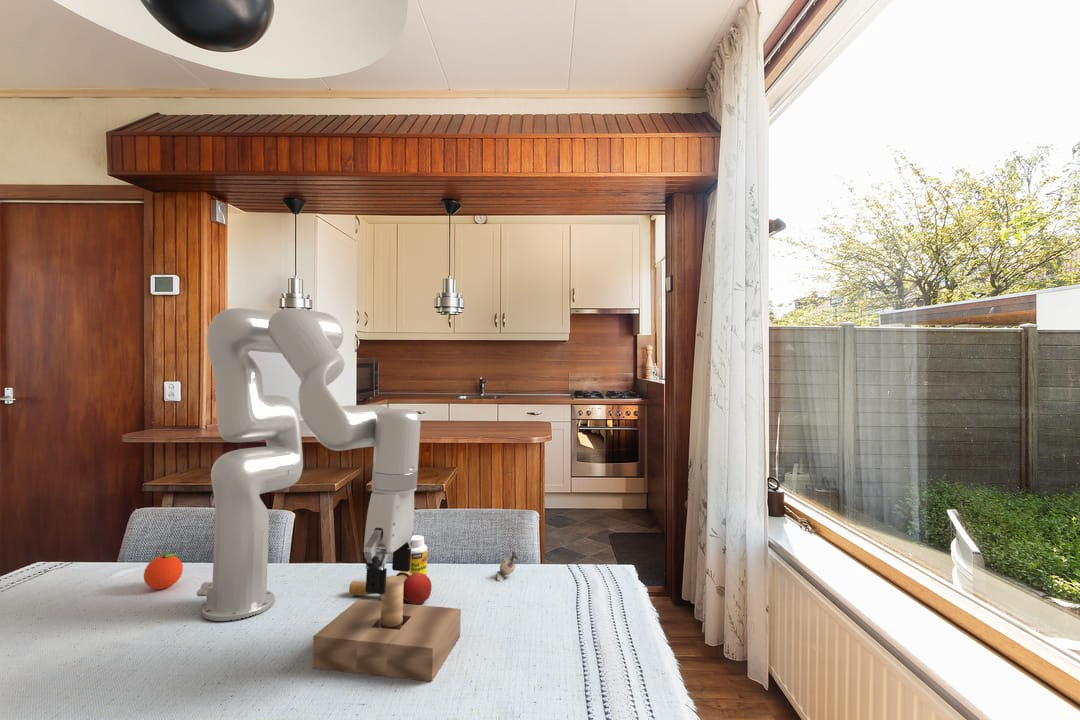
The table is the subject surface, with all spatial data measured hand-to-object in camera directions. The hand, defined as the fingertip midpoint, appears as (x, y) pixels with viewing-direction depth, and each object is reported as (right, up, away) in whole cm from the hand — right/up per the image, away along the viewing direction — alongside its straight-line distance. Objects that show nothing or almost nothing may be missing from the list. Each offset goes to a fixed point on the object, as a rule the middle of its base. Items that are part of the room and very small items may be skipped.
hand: (388, 581), depth 88 cm
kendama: (-6, -13, +20) cm, 24 cm away
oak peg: (+1, -12, -1) cm, 12 cm away
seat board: (+1, -12, -1) cm, 12 cm away
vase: (+19, -14, +33) cm, 40 cm away
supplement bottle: (-3, -13, +29) cm, 32 cm away
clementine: (-56, -12, +24) cm, 62 cm away
